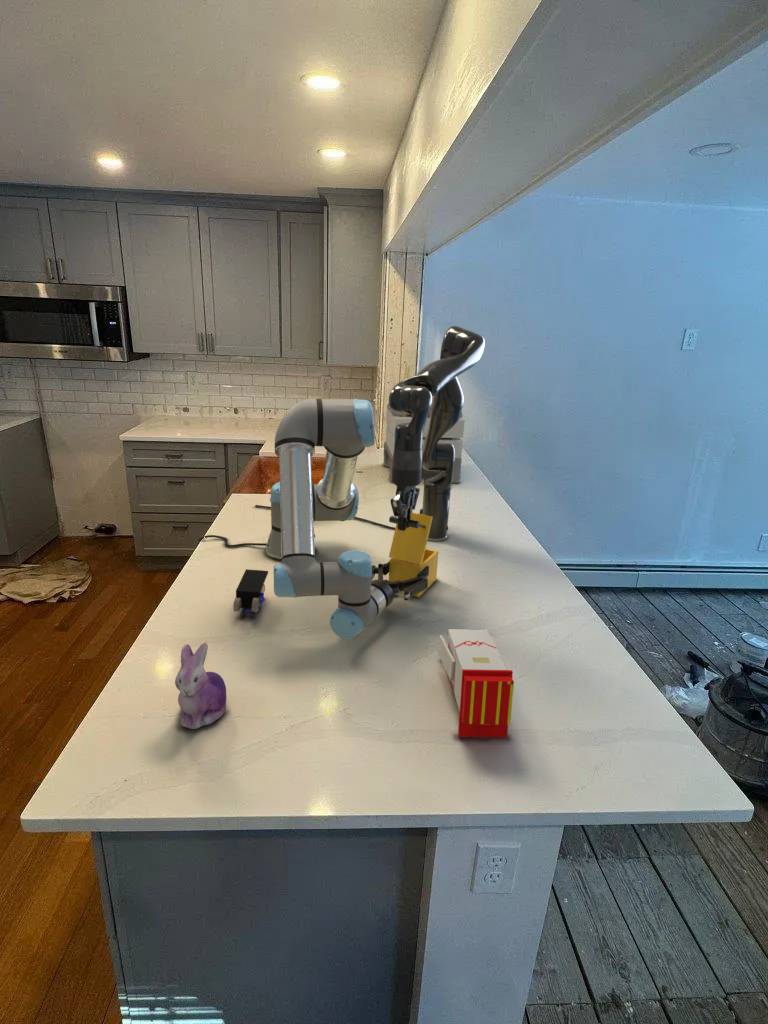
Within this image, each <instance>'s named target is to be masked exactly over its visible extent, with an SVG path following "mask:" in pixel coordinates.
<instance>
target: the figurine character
mask: <svg viewBox="0 0 768 1024" xmlns="http://www.w3.org/2000/svg"><path fill="white" fill-rule="evenodd" d="M268 574H269V570H261V569H247V568H245V570H244V572H243V575H242V577H241V579H240V581H239V583H238V585H237V587H236V589H235V598H234V600H233V607H232V609H233V612H234V613H235V612H236V613H239V612H240V611H241V612H240V616H241V617H244V615H245V612H246V611H248V612H249V611H251V612H252V613H251V617H255V615H256V613H258V612H259V610H260V609H261V605H262V604H263V603H264V602H265V601H266V598H265V591H266V586H265V582H266V579H267V576H268Z"/></svg>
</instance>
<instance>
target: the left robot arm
mask: <svg viewBox="0 0 768 1024" xmlns="http://www.w3.org/2000/svg"><path fill="white" fill-rule="evenodd" d="M375 435H376V433H375V420H374V411H373V405H372V403H371V401H369V400H367V399H360V398H359V399H358V398H314V397H313V398H306V399H302V400H300V401H299V402H297V403H295V404H294V405H293V406H291V407H290V408H289V409H288V411H286V413H285V414H284V415H283V417H282V418H281V421H280V422H279V424H278V427H277V430H276V433H275V436H274V455H275V456H276V457H278V461H279V462H278V463H279V481H277V482H276V483H274V484H273V485H272V487H271V488H270V498H269V502H270V507H271V509H270V524H271V525H270V526H271V527H270V528H271V529H270V533H269V536H268V538H267V539H268V540H267V542H265V543H264V542H263V543H262V542H260V543H259V542H244V543H235V544H229V538H227V537H225V536H223V535H217V534H216V535H215V534H207V535H203V536H201V537H200V538H199V539H197V542H201V541H202V540H204V539H208V538H215V539H221V540H224V545H225V546H226V547H229V548H237V547H242V546H243V547H245V546H258V547H259V546H264V547H265V553H266V555H267V556H268V557H269V558H271V559H274V560H276V561H280V563H276V564H274V565H273V593H274V596H276V597H277V598H295V599H296V598H303V597H304V598H306V597H322V596H325V597H326V596H337V600H338V602H337V608H335V610H334V611H333V612H332V614H331V615H330V617H329V625H330V628H331V630H332V632H333V633H334V635H336V636H337V637H339V639H343V640H351V639H354V638H355V637H357V636H358V635H359V634H361V633H363V632H364V630H365V629H366V628H367V627H368V626H369V625H370V624H371V623H373V621H374V620H375V619H376V618H377V617H379V616H380V615H381V614H382V613H383V612H384V611H385V610H386V609H387V608H388V607H389V606H390V605H391V604H392V603H393V602H394V599H397V598H399V597H401V598H403V600H404V601H407V602H408V601H409V600H410V599H411V598H412V597H415V596H414V595H416V594H418V593H420V592H422V591H424V590H425V589H427V588H428V579H427V576H428V575H429V566H426V567H425V568H424V569H423V570H422V571H421V572H420V573H418V574H417V577H415V578H412V579H408V580H404V581H400V580H398V581H395V582H391V581H389V579H384V576H387V575H389V563H390V560H388V562H386V563H378V565H377V566H376V565H373V564H372V557H371V555H369V553H367V552H365V551H364V550H363V551H362V550H357V549H349V550H348V551H343V552H341V553H340V554H339V556H338V560H337V561H323V562H321V561H320V562H316V550H315V549H316V548H315V545H316V544H315V539H316V535H315V523H314V522H339V521H340V522H345V521H352V520H354V517H357V514H358V510H359V505H360V504H359V503H360V493H359V488H358V486H357V485H356V484H354V483H353V480H354V475H355V471H356V467H357V461H358V457H359V456H360V455H361V454H362V453H363V452H364V451H365V449H366V448H370V447H373V446H374V445H375V439H376V437H375ZM316 447H324V449H325V450H326V452H325V453H326V454H325V461H324V469H323V477H322V479H320V480H319V482H318V483H314V484H313V476H312V475H313V473H312V470H313V469H312V457H313V456H314V455H315V454H316ZM204 537H205V538H204ZM376 575H377V579H374V578H375V576H376ZM428 589H429V588H428ZM428 589H427V590H428Z"/></svg>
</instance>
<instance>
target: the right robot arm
mask: <svg viewBox="0 0 768 1024" xmlns="http://www.w3.org/2000/svg"><path fill="white" fill-rule="evenodd" d="M485 341H486V340H485V338H484V337H483V336H482V335H481V334H478V333H476V332H474V331H472V330H470V329H469V330H468V329H466V328H463V327H461V326H457V325H452V326H450V327H448V328H447V330H446V331H445V333H444V336H443V339H442V342H441V346H440V354H439V359H437V360H433V361H430V362H429V363H428V364H426V365H425V366H424V367H423V368H422V369H421V370H420V371H419V372H417V373H416V374H415V375H412V376H410V377H407V378H406V379H405V378H404V379H403V380H401V381H399V382H397V383H396V384H395V385H394V386H393V387H392V389H391V390H390V392H389V395H388V403H389V405H390V407H391V409H392V410H393V411H395V412H397V413H403V414H409V415H413V417H412V420H411V422H410V423H401V424H398V425H397V426H396V428H395V440H394V452H393V463H392V482H391V483H393V484H394V485H395V486H396V490H395V497H394V498H391V499H390V502H389V503H390V506H391V510H392V513H393V516H396V517H398V530H402V531H405V530H406V528H409V526H406V524H407V519H410V520H411V514H412V512H413V511H414V510H416V506H417V502H418V500H419V499H418V498H419V495H420V490H421V488H420V487H417V486H419V485H421V483H422V471H423V470H425V471H432V472H439V473H438V474H436V475H435V476H431V477H429V478H427V479H425V480H424V482H423V493H422V496H423V497H422V506H421V508H420V509H419V514H422V515H427V516H432V517H433V518H432V523H431V527H430V531H429V536H428V540H427V541H432V542H440V541H444V540H446V539H447V538H448V531H449V517H450V516H449V514H450V504H451V494H452V493H451V491H452V484H453V483H452V475H453V468H454V461H455V449H454V446H453V445H452V444H450V443H438V441H439V440H440V439H441V437H442V436H443V435H444V434H446V433H447V432H448V431H449V430H450V429H451V428H452V427H453V426H454V425H455V424H456V423H457V422H458V420H459V418H460V415H461V412H463V408H464V402H465V397H464V393H463V390H462V387H461V384H460V382H459V379H458V377H459V376H461V375H463V374H464V373H465V372H467V371H469V370H470V369H471V368H473V367H475V366H476V365H477V363H478V362H479V361H480V359H481V357H482V355H483V353H484V349H485V346H486V342H485ZM432 397H434V399H433V404H432ZM431 406H432V409H431ZM430 409H431V416H430V422H429V427H428V432H427V435H426V439H425V442H424V446H423V449H422V441H423V431H424V427H425V424H426V421H427V418H428V415H429V412H430ZM440 471H441V472H440ZM255 508H263V509H269V510H271V506H269V505H262V504H261V505H259V504H255ZM354 519H355V520H359V521H363V522H366V523H371V524H373V525H376V526H380V527H384V528H387V529H390V530H394V531H395V528H396V527H395V526H389V525H387V524H383V523H379V522H375V521H372V520H369V519H366V518H362V517H359V516H358V517H357V516H355V517H354V518H353V520H354Z"/></svg>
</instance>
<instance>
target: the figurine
mask: <svg viewBox="0 0 768 1024" xmlns="http://www.w3.org/2000/svg"><path fill="white" fill-rule="evenodd" d="M208 648H209V645H208V643H207V642H203V643H201V644H200V646H199V647H198V648H197V650H196V651H195V652H193V649H192V647H191V646H190V644H188V643H186V644H184V645H183V646H182V648H181V651H180V668H179V670H178V672H177V675H176V676H175V679H174V685H175V687H176V689H177V690H178V691H179V694H178V696H177V702H178V706H179V708H180V711H181V718H180V726H182V727H183V728H188V729H191V730H197V729H199V728H201V727H203V726H208V725H211V724H213V723H215V722H216V721H217V720H218V719H220V718H221V717H222V716H223V715H224V714H225V712H226V707H227V687H226V682H225V681H224V678H223V677H222V676H221V675H220V674H219V673H217V672H215V671H206V670H205V667H204V664H205V661H206V657H207V653H208Z"/></svg>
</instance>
